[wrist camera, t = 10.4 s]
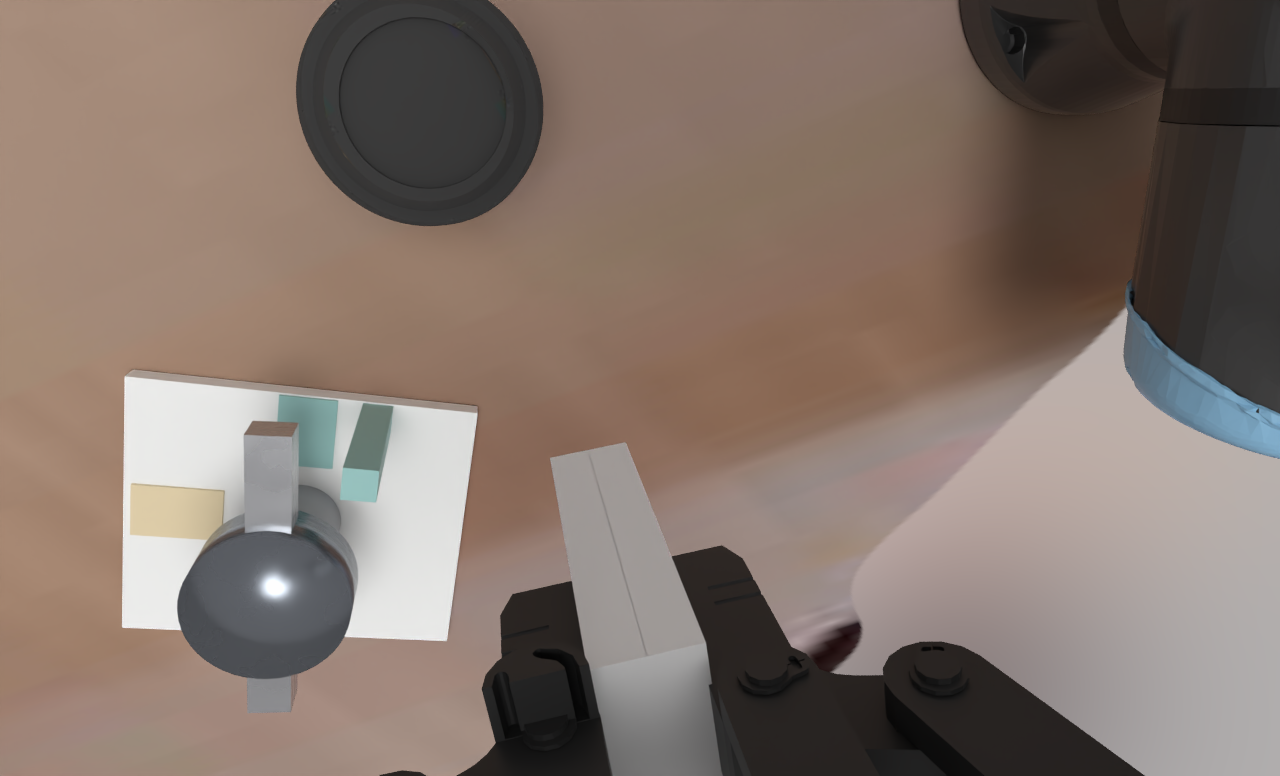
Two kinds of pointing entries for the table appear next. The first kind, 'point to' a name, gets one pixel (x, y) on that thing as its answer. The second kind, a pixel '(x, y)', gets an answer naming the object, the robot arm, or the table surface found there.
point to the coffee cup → (420, 106)
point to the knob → (269, 579)
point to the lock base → (327, 488)
